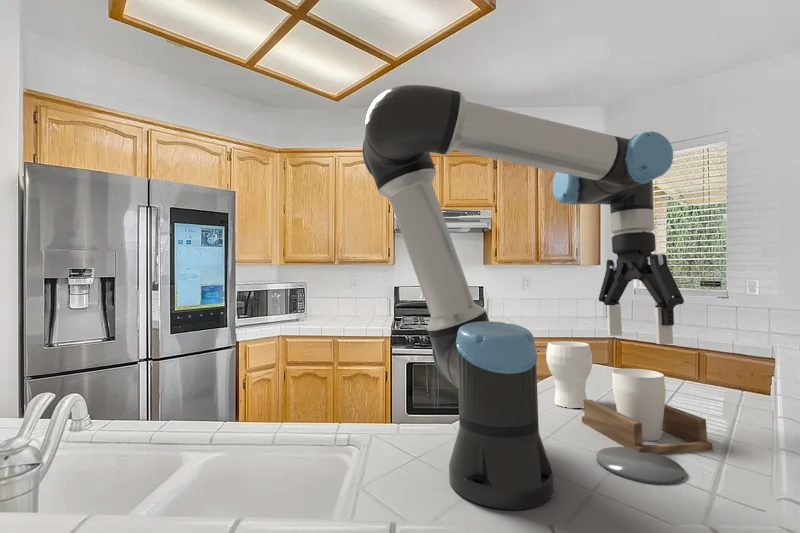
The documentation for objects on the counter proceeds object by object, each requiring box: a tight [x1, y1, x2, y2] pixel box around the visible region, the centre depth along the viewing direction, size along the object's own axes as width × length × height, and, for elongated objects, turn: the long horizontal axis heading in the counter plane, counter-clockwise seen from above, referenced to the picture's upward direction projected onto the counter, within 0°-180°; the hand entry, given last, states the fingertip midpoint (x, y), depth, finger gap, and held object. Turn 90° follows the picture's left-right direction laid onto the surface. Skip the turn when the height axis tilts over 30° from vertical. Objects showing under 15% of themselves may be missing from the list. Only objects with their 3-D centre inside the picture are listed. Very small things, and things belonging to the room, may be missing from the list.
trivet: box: [596, 446, 685, 485], centre depth 62 cm, size 12×12×1 cm
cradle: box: [581, 399, 714, 455], centre depth 75 cm, size 14×17×5 cm
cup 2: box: [611, 367, 667, 442], centre depth 75 cm, size 9×9×12 cm
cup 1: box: [545, 340, 593, 409], centre depth 96 cm, size 11×11×15 cm
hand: (637, 339), depth 76 cm, fingers open, 13 cm apart
